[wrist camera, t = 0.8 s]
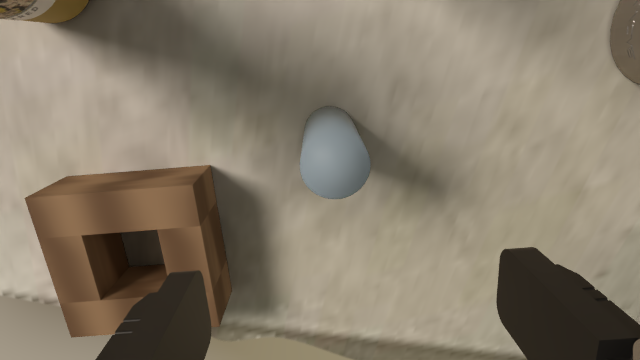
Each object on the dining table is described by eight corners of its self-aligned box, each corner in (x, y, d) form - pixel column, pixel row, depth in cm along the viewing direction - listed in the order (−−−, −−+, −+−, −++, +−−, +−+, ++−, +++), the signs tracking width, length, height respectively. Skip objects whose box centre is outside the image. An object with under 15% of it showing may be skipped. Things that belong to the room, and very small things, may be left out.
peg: (352, 104, 31) (368, 128, 22) (355, 153, 33) (371, 196, 23) (302, 108, 32) (296, 134, 22) (307, 157, 33) (303, 201, 23)
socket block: (210, 165, 33) (192, 184, 28) (231, 290, 37) (219, 326, 32) (66, 176, 33) (24, 198, 28) (102, 300, 37) (71, 337, 32)
